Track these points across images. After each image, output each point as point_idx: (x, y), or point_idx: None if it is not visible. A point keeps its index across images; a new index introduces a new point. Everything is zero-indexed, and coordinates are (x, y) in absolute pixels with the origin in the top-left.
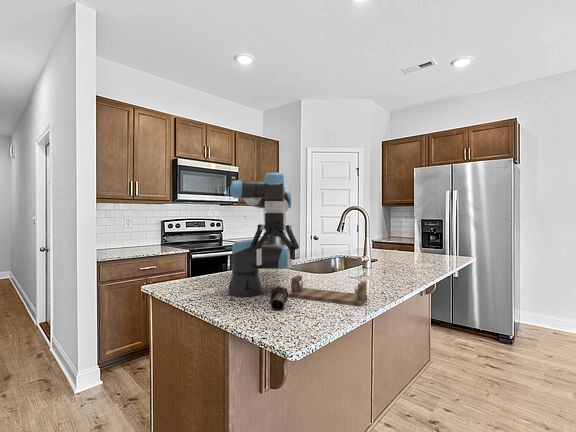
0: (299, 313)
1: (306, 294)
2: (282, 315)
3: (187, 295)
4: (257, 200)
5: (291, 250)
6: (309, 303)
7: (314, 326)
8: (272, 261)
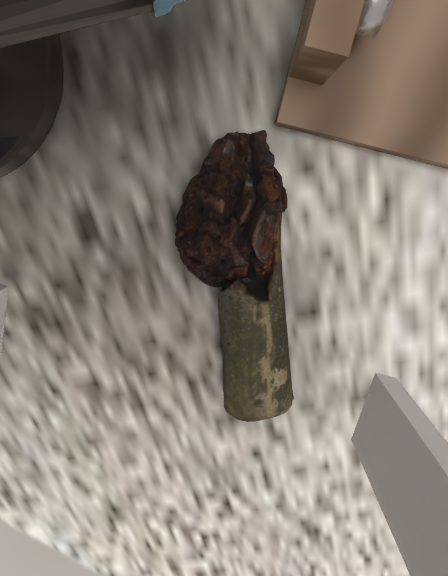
0: None
1: (406, 117)
2: (296, 450)
3: None
4: None
5: None
6: (419, 239)
7: None
8: (62, 29)
